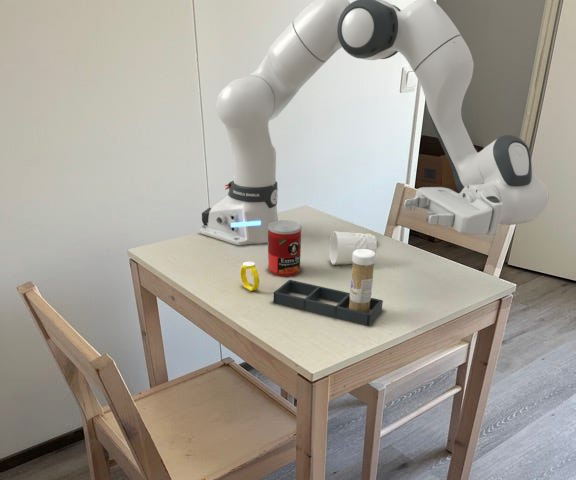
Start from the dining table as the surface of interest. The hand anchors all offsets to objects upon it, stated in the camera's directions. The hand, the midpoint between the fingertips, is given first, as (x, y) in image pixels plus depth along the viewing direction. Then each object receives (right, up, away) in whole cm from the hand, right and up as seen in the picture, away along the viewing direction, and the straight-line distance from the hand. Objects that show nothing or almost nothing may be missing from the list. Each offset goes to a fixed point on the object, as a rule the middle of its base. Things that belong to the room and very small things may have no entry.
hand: (416, 211), depth 121 cm
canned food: (-27, -8, +23) cm, 36 cm away
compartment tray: (-18, -18, +7) cm, 26 cm away
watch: (-35, -14, +14) cm, 40 cm away
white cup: (-5, -1, +26) cm, 27 cm away
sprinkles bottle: (-11, -20, +4) cm, 24 cm away
